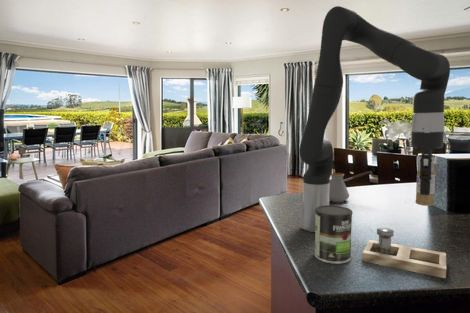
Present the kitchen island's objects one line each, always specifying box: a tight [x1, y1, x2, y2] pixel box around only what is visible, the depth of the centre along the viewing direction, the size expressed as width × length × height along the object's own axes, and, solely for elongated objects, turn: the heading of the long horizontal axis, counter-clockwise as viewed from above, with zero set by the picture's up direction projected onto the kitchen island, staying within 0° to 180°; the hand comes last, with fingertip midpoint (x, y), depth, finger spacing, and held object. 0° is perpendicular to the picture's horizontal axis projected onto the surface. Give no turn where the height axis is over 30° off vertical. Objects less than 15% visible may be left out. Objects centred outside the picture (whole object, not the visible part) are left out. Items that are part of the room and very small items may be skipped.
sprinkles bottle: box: [414, 155, 437, 207], centre depth 90 cm, size 5×5×14 cm
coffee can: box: [314, 204, 353, 265], centre depth 96 cm, size 10×10×14 cm
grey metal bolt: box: [376, 227, 395, 255], centre depth 95 cm, size 4×4×8 cm
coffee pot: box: [329, 170, 373, 203], centre depth 156 cm, size 21×12×15 cm, turn 71°
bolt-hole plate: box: [361, 239, 447, 279], centre depth 92 cm, size 20×11×2 cm, turn 58°
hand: (425, 192), depth 90 cm, fingers closed on sprinkles bottle, 4 cm apart
